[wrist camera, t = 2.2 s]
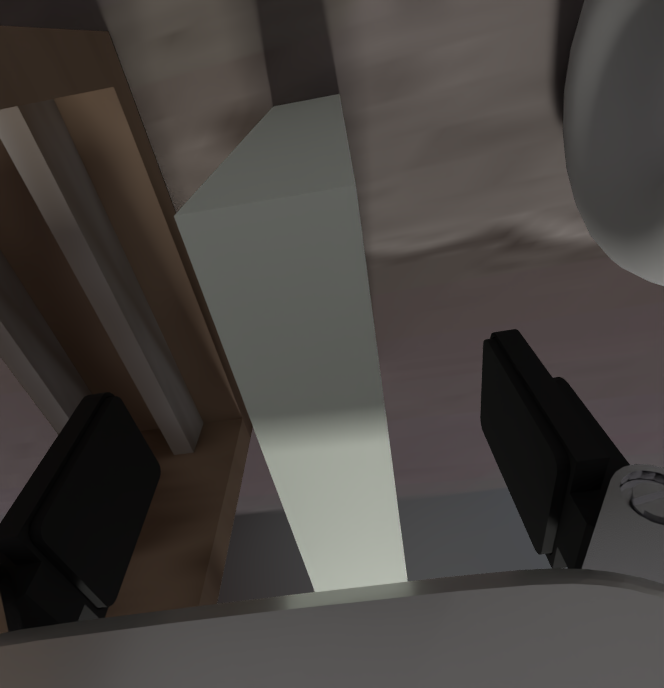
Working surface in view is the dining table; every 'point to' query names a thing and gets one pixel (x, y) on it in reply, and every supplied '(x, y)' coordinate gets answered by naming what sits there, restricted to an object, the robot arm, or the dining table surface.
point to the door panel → (303, 335)
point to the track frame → (114, 301)
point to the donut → (619, 130)
